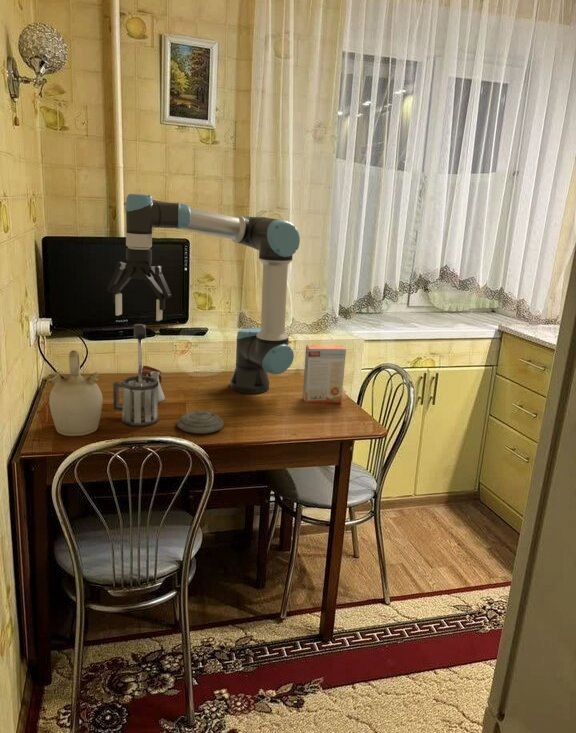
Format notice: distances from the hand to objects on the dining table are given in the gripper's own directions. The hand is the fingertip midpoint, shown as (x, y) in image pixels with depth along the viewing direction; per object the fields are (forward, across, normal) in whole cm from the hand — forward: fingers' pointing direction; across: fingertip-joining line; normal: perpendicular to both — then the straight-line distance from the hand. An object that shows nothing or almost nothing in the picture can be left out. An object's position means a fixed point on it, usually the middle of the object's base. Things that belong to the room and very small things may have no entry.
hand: (138, 317), depth 186 cm
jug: (+34, +14, +14) cm, 39 cm away
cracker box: (+34, -52, -43) cm, 76 cm away
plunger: (+23, 0, 0) cm, 23 cm away
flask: (+34, +4, -19) cm, 39 cm away
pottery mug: (+34, +12, -33) cm, 49 cm away
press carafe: (+34, +1, 0) cm, 34 cm away
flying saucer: (+34, -20, -2) cm, 40 cm away
